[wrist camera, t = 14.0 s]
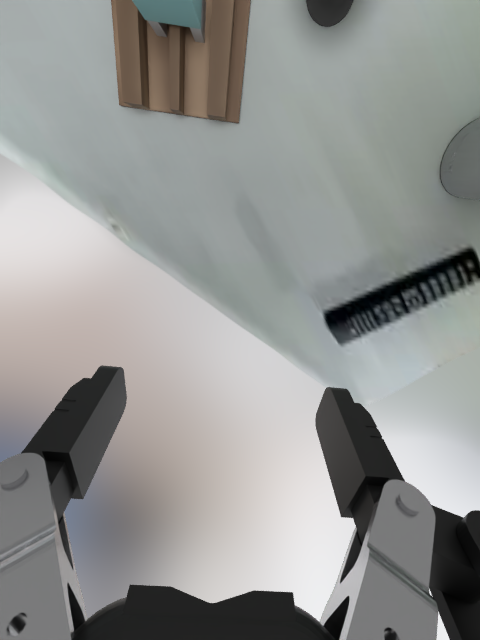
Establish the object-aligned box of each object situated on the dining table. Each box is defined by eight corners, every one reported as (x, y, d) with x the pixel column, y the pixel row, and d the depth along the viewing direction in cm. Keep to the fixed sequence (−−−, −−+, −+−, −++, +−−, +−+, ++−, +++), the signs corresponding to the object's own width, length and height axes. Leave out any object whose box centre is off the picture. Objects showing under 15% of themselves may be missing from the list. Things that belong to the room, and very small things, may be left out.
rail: (258, -85, 26) (261, -121, 22) (238, 123, 34) (238, 119, 30) (105, -115, 25) (85, -157, 22) (121, 106, 33) (108, 99, 30)
